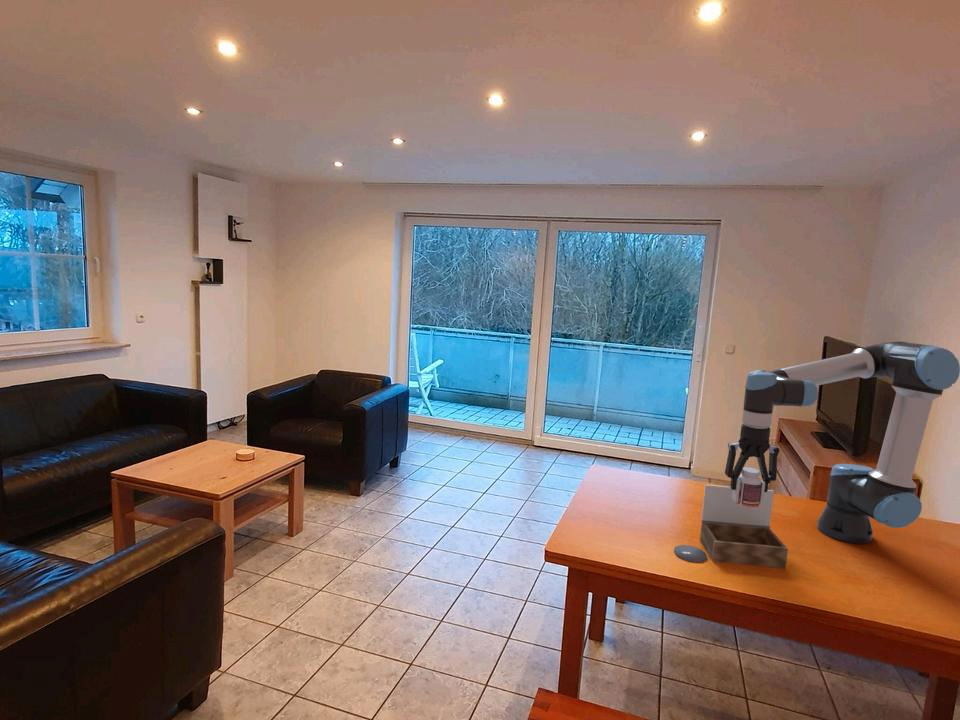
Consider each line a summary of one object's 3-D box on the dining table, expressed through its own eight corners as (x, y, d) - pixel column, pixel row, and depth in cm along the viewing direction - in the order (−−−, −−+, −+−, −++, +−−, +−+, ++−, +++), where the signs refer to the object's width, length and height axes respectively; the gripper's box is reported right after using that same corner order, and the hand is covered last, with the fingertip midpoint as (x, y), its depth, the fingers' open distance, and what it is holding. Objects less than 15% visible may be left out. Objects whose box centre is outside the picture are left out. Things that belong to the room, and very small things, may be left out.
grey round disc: (701, 548, 162) (701, 546, 162) (710, 563, 154) (710, 561, 153) (670, 545, 163) (671, 543, 163) (678, 560, 155) (678, 558, 154)
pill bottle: (762, 507, 157) (767, 471, 155) (751, 511, 154) (755, 475, 152) (742, 499, 162) (746, 465, 161) (730, 503, 159) (734, 468, 157)
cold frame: (761, 540, 169) (766, 504, 167) (785, 568, 153) (790, 528, 151) (696, 534, 172) (700, 498, 170) (712, 561, 155) (717, 522, 153)
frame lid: (768, 527, 165) (773, 490, 163) (769, 529, 164) (774, 491, 162) (701, 521, 167) (705, 484, 166) (702, 523, 166) (706, 485, 165)
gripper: (785, 423, 157) (776, 498, 160) (717, 419, 159) (709, 493, 162) (797, 430, 150) (787, 509, 153) (725, 426, 152) (717, 503, 155)
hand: (747, 500), depth 158 cm, fingers closed on pill bottle, 6 cm apart
